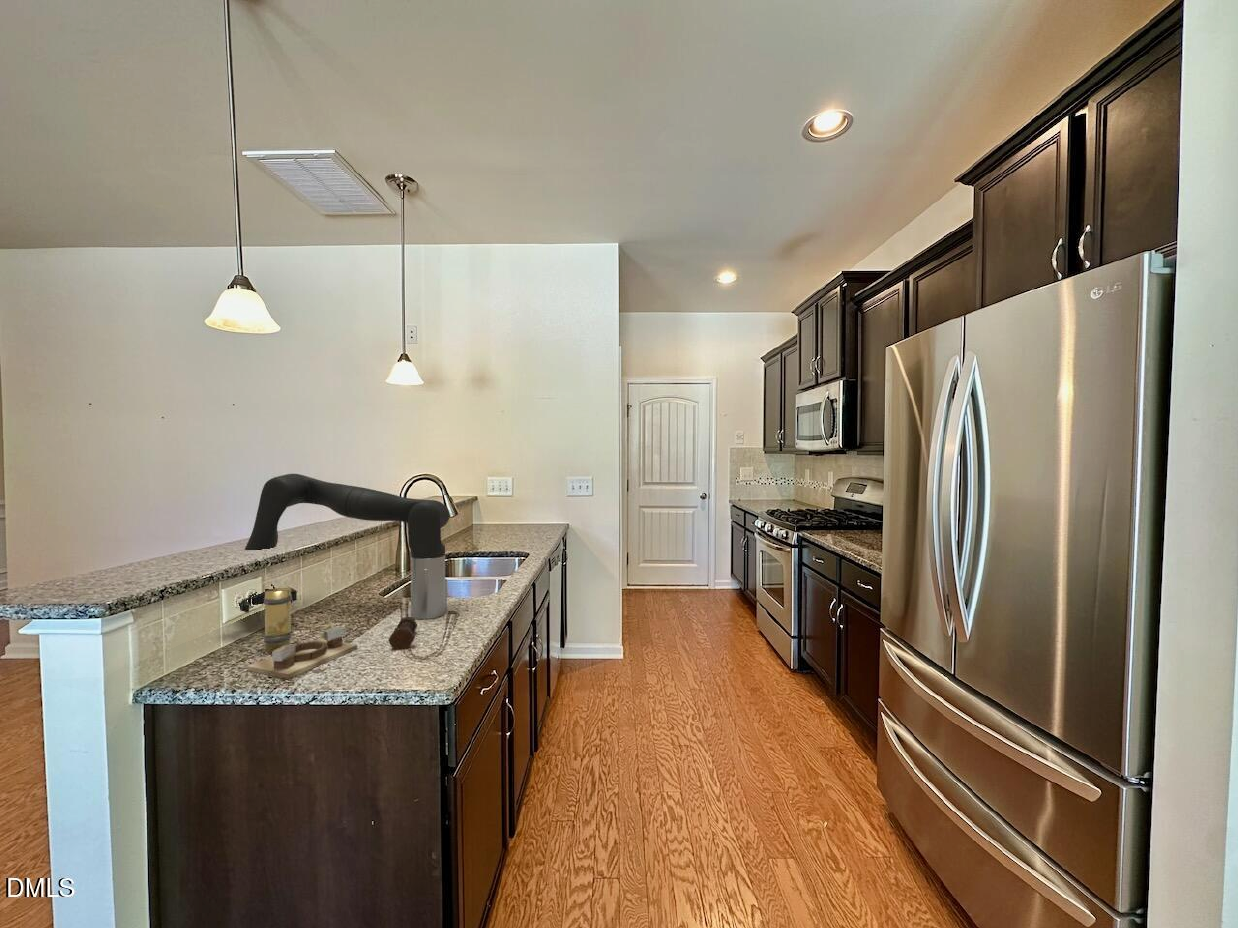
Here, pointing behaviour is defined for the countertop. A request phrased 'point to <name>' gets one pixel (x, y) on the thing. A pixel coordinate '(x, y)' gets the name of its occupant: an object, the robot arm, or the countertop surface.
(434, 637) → the countertop surface
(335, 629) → the pair of grey blocks
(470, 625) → the countertop surface
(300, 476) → the robot arm
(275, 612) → the cylinder
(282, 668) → the coupling base
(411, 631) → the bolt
